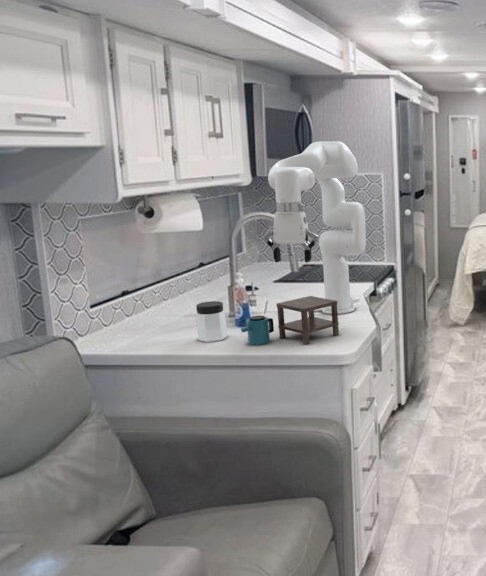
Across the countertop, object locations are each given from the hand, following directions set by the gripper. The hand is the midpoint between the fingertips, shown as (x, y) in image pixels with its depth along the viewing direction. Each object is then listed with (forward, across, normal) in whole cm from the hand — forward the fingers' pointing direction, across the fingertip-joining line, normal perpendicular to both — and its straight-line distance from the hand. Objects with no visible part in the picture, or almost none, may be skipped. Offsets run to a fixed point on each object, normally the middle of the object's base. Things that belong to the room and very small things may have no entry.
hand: (292, 261), depth 213 cm
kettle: (+27, +14, -1) cm, 31 cm away
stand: (+27, 0, -9) cm, 29 cm away
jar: (+28, +31, -5) cm, 42 cm away
